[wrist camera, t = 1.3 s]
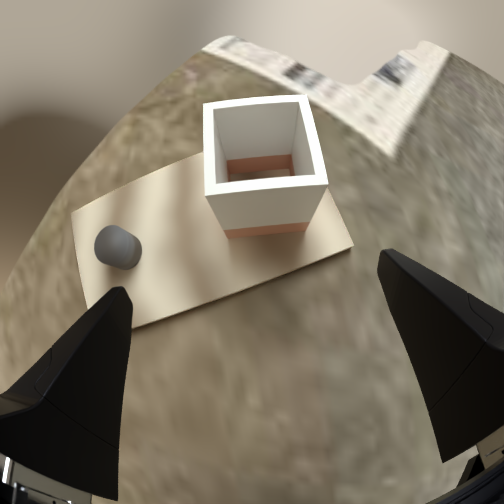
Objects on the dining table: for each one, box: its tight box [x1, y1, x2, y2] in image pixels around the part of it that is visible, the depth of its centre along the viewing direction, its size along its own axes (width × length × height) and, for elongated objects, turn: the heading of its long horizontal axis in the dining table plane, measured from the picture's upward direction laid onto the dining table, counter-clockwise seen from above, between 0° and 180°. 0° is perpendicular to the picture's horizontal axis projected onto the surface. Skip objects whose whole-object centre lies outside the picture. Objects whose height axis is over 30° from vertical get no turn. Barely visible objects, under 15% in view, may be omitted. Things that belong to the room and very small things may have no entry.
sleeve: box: [203, 95, 328, 239], centre depth 19 cm, size 6×6×9 cm
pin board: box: [71, 152, 354, 329], centre depth 22 cm, size 24×13×4 cm, turn 111°
